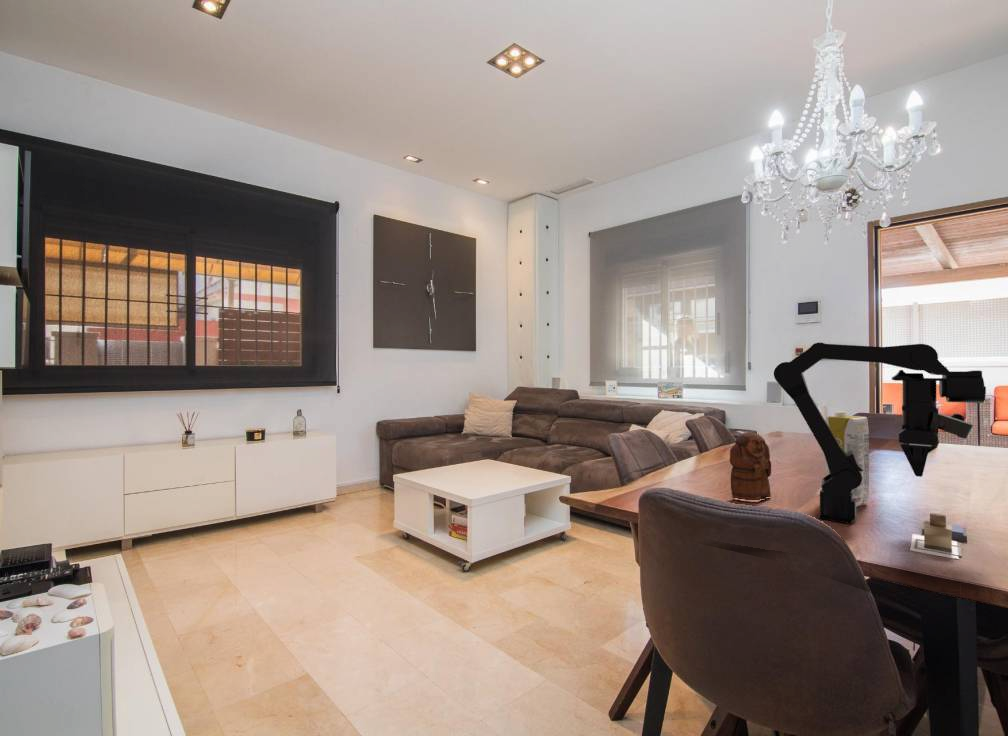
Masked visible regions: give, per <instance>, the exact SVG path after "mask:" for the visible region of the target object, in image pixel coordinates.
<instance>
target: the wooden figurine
mask: <svg viewBox="0 0 1008 736" xmlns="http://www.w3.org/2000/svg"><path fill="white" fill-rule="evenodd" d="M729 463H730V465H731V466H732V467H731V472H730V489H731V490H730V491H731V495H732V497H731V498H732V499H733V498H738V499H745V500H760V499H766V497H771V498H772V495H771V494H772V493H771V485H770V481H769V478H770V477H771V474H772V462H771V452H770V448H769V445H768V444H767V443H766V440H765V439H764V437H763V435H760V434H758V433H756V432H744V433H741V434H740V435H739V436H738V437H736V439H735V441H734V444H733V445H732V446H731V447H730V450H729Z"/></svg>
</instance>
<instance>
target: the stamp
mask: <svg viewBox="0 0 1008 736" xmlns="http://www.w3.org/2000/svg"><path fill="white" fill-rule="evenodd" d="M924 521H925V524H924V535H923V536H924V548H927V549H933V550H938V551H944V552H949V553H952V541H953V540H952V527H951V525H949V524H950V523H947V516H946V515H945V514H942V513H933V512H930V513H929V520H927V521H926V520H924ZM929 521H930V522H929ZM946 523H947V524H946Z"/></svg>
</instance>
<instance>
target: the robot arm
mask: <svg viewBox="0 0 1008 736" xmlns="http://www.w3.org/2000/svg"><path fill="white" fill-rule="evenodd" d="M821 360H833V361H834V360H836V361H837V360H838V361H850V362H851V361H852V362H862V363H863V362H864V363H865V362H866V363H877V364H879V363H880V364H885V365H890V366H893V367H898V368H903V369H907V370H911V371H924V372H926V373H928V374H929V375H934V376H941V377H936V378H935V377H928V378H927V377H924V373H922V372H918V373H917V372H910V373H908V372H905V371H904V370H902V369H900V370H898V372H897V373H896V374H895V375H894V376H892V377H891V380H892V381H895V382H896V381H897V382H898V381H901V382H902V405H901V411H902V424H901V431H899V433H898V443H899V446H900V447H901V449H902V451H903V454H904V456H905V457H906V460H907V462H908V463H909V465H910V468H911V470H912V471H913V474H914V475H915V477H923V475H924V470H925V467H926V463H927V459H928V454H929V453H931V452H932V451H934V450H936V449H937V448H938V446H939V431H940V430H941V431H943V432H947V433H948V434H952V435H955V436H957V437H958V438H961V439H965V440H966V439H967V438H968V436H969V434H970V432H971V430H972V428H973V426H974V424H973V423H971V422H969V421H966V420H965V415H963V414H959V413H956V412H955V413H954V414H952V415H951V416H949V415H948V414H943V413H939V407H937V406H938V405H937V382H938V392H939V393H938V395H939V397H940V398H945V400H946V403H968V404H969V403H970V404H971V403H972V404H984V402H985V400H986V393H987V390H986V389H987V387H986V386H985V381H984V377H983V371H982V370H976V369H975V370H967V371H966V370H965V371H959V370H957V371H955V370H953V371H951V370H949V369H948V368H947V367H946V366H945V365H944V364H943V363H942V362H941V361H940V360H939V354H938V352H937V350H936V349H935V348H934V347H932V345H929V344H925V343H915V344H903V345H894V346H893V345H892V346H891V345H890V346H871V345H869V346H868V345H855V344H854V345H853V344H838V343H837V344H834V343H824V342H815V343H813V344H812V345H811V346H810V347H808V348H807V349H806V350H805V351H803V352H802V353H801V354H799V355H797V356H796V357H795V358H793V359H792V360H791V361H783V362H780V363H779V364H778V365H777V366H776V367H775V368H774V371H773V377H774V379H775V381H776V382H777V384H778V385H780V387H781V389H783V391H784V392H786V394H787V395H788V396H789V397H790V399H792V401H794V403H795V405H796V407H797V409H798V410H799V412H800V414H801V416H802V417H803V419H804V421H805V423H806V425H807V426H808V428H809V430H810V431H811V434H813V436H814V438H815V440H816V442H817V443H818V445H819V448H820V449H821V450H822V452H823V455H824V459H825V458H826V462H827V465H828V468H829V471H830V474H828V475H827V476H826V477H825V476H824V477H823V478H821V480H822V481H821V489H820V490H819V515H817V518H818V519H820V520H826V521H832V522H838V523H843V524H845V523H846V524H849V525H851V524H853V522H854V521H855V520H856V519H857V507H856V500H853V493H851V491H852V489H855V488H857V487H858V486H859V485H860V484H861V482H862V475H861V471H863V469H862V465H861V464H859V463H858V462H857V460H856V458H855V456H854V453H853V451H850V452H848V453H846V452H845V451H844V450H843V449H842V447H841V446H840V445H839V443H838V442H837V440H836V438H835V436H834V435H833V433H832V431H831V430H830V428H829V426H828V424H827V423H826V418H824V416H823V415H822V413H821V411H820V409H819V408H818V406H817V404H816V402H815V401H814V399H813V397H812V395H811V393H810V390H809V388H808V385H807V381H806V378H805V376H804V373H805V372H806V371H808V370H809V369H810V368H812V367H813V366H814V365H816V364H817V363H818V362H820V361H821Z"/></svg>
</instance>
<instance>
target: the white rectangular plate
mask: <svg viewBox="0 0 1008 736" xmlns="http://www.w3.org/2000/svg"><path fill="white" fill-rule="evenodd" d="M909 551H910V552H911V551H912V552H916V553H922V554H928V555H932V556H939V557H943V558H949V559H954V560H959V559H960V558H961V557H962V550H961V546H959V545H958V540H952V553H949V552H944V551H938V550H933V549H927V548H924V535H922V534H915V533H912V537H911V542H910V549H909Z"/></svg>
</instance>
